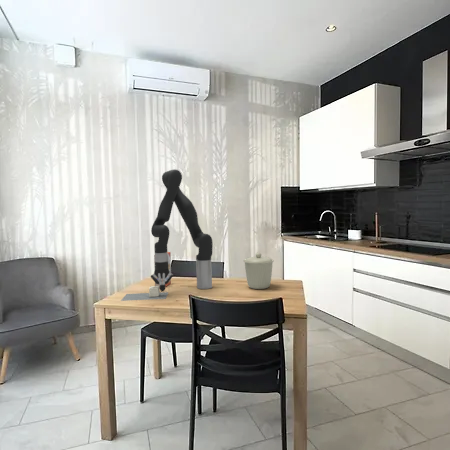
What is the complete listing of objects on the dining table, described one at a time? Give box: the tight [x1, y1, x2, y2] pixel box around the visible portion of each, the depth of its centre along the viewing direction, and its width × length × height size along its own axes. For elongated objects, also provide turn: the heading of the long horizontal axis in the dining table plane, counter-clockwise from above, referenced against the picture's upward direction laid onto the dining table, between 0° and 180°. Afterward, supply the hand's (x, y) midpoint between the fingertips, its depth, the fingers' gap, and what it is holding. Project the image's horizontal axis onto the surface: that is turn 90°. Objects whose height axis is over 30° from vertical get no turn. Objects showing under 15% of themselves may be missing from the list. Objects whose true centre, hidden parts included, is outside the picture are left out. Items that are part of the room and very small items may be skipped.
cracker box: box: [153, 251, 172, 288], centre depth 209 cm, size 14×6×21 cm, turn 168°
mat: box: [120, 291, 169, 302], centre depth 184 cm, size 24×14×1 cm, turn 94°
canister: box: [243, 252, 274, 290], centre depth 199 cm, size 18×18×21 cm
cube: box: [148, 285, 161, 297], centre depth 184 cm, size 5×5×5 cm
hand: (162, 291), depth 185 cm, fingers closed
